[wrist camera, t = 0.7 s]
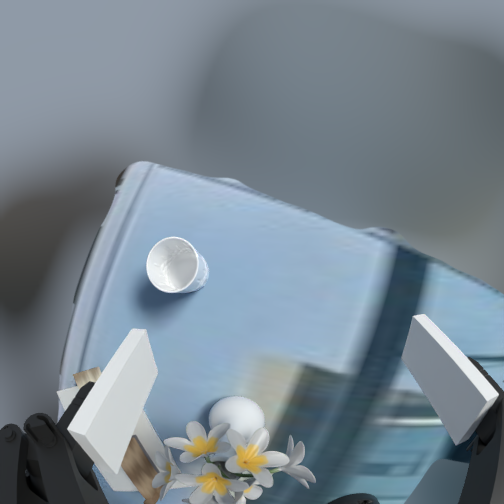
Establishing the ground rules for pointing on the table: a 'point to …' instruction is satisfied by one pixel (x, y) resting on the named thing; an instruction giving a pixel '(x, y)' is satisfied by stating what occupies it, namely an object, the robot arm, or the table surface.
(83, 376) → the hinged fence panel
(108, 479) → the board
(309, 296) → the table surface
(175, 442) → the flower vase
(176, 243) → the white cup
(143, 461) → the fixed fence section
